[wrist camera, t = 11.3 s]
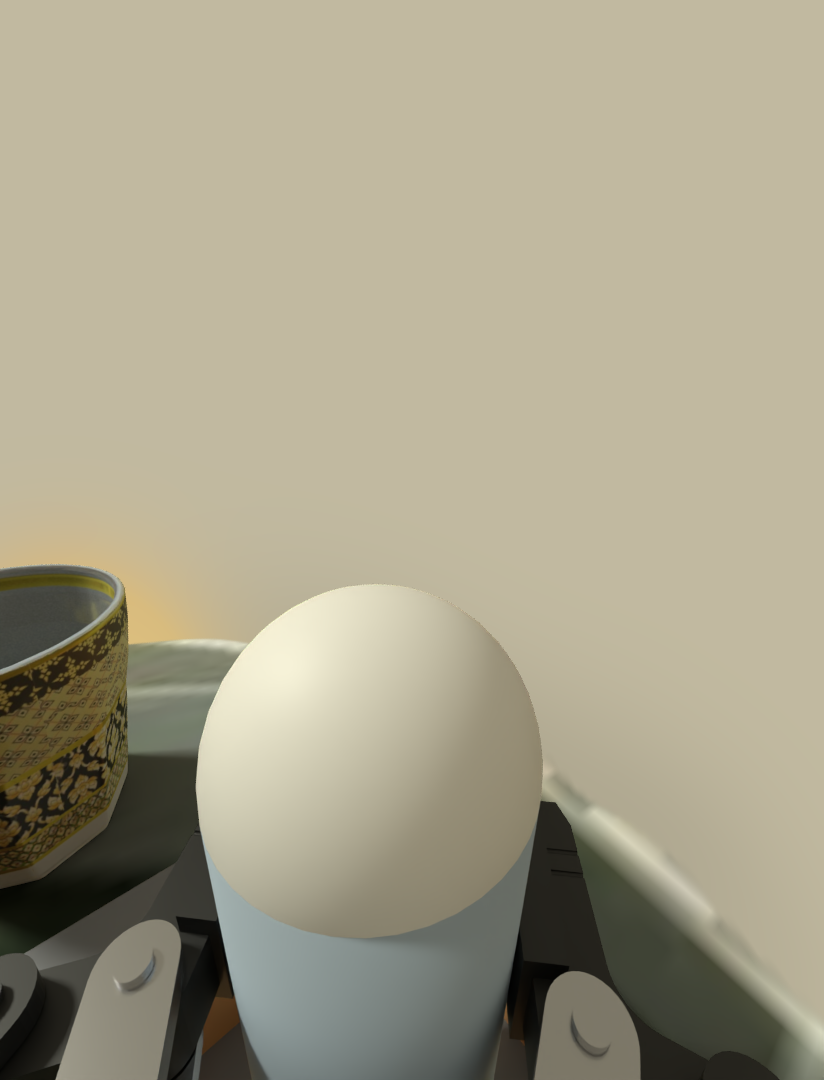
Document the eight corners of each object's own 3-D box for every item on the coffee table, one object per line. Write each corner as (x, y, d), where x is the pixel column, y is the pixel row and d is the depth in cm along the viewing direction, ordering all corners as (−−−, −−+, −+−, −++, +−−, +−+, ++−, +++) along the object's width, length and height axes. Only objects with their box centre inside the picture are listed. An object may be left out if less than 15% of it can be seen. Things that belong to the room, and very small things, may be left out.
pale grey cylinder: (237, 1076, 11) (127, 587, 6) (396, 926, 14) (402, 522, 9) (344, 1420, 7) (272, 883, 3) (527, 1119, 10) (644, 619, 6)
